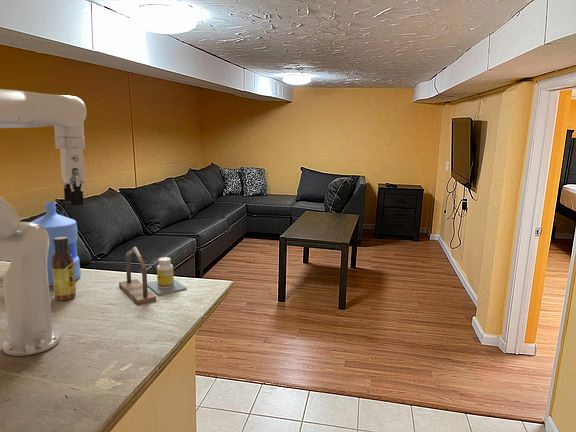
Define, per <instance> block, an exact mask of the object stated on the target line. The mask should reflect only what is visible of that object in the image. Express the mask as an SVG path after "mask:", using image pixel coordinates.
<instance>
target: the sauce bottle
mask: <svg viewBox="0 0 576 432" xmlns="http://www.w3.org/2000/svg"><path fill="white" fill-rule="evenodd" d="M54 244H55V254H54V256H53V258H52V274H53V286H52V287H53V294H54V298H55V300H57V301H60V302H61V301H69V300H71V299H74V298H75V297H76V291H77V287H76V280H75V273H74V261H73V259H72V257H71V255H70V254H71V252H70V251H69V244H68V237H56V238H54Z"/></svg>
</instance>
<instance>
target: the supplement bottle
mask: <svg viewBox="0 0 576 432" xmlns="http://www.w3.org/2000/svg"><path fill="white" fill-rule="evenodd" d="M171 262H172V259H171V258H170V257H167V256H166V257H160V258H158V265H156V273H157V274H156V277H157V280H156V281H158V287H160V288H170V287H172V286H173V285H174V265H173V264H172V263H171Z"/></svg>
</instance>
